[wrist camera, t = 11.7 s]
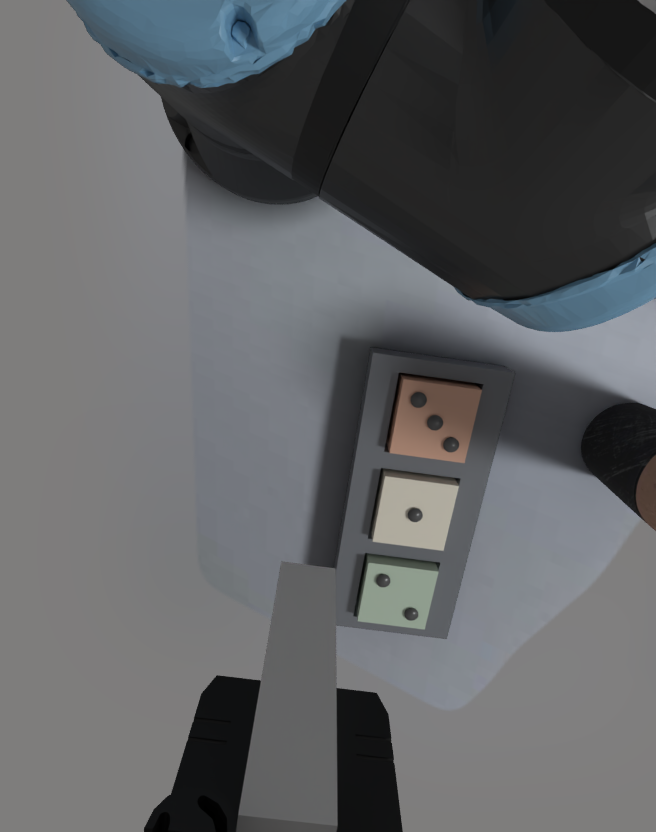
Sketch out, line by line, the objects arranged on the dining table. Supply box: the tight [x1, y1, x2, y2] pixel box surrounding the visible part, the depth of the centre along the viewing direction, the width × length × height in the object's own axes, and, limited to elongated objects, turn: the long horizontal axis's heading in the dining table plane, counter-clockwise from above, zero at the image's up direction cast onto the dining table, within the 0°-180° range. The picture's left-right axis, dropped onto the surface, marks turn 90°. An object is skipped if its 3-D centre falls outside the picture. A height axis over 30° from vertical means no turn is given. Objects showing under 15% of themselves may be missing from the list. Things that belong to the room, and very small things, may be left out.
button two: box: [356, 553, 439, 630], centre depth 45 cm, size 6×6×3 cm
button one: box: [370, 468, 459, 551], centre depth 42 cm, size 6×6×3 cm
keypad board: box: [334, 347, 515, 639], centre depth 43 cm, size 25×11×2 cm, turn 172°
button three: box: [386, 372, 482, 463], centre depth 40 cm, size 6×6×3 cm
